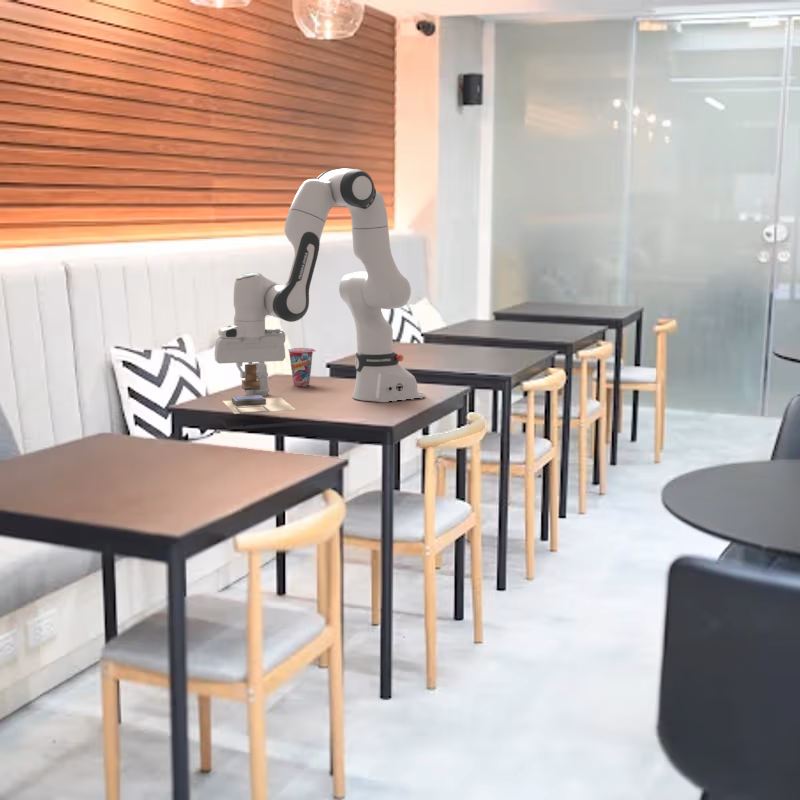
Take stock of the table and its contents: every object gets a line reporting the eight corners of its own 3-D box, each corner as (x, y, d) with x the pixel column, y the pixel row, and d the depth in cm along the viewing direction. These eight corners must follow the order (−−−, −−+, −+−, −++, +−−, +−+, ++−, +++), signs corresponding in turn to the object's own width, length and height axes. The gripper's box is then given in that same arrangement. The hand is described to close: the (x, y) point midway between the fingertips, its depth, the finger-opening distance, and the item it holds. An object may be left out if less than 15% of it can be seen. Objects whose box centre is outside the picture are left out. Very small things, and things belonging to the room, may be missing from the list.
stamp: (256, 387, 325) (256, 363, 323) (259, 389, 320) (259, 365, 319) (242, 387, 323) (241, 364, 322) (244, 390, 319) (244, 366, 318)
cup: (287, 387, 366) (286, 351, 364) (290, 383, 374) (289, 347, 372) (315, 387, 366) (314, 351, 363) (318, 383, 374) (317, 347, 372)
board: (280, 400, 343) (280, 391, 342) (296, 413, 323) (295, 403, 323) (222, 404, 337) (222, 395, 337) (234, 417, 317) (234, 407, 317)
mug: (272, 393, 355) (271, 356, 353) (261, 400, 344) (260, 361, 342) (249, 392, 356) (248, 355, 354) (237, 399, 345) (236, 361, 343)
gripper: (282, 327, 325) (283, 374, 328) (212, 329, 319) (214, 377, 321) (287, 329, 319) (288, 377, 322) (216, 332, 313) (217, 380, 315)
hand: (250, 377), depth 321 cm, fingers closed on stamp, 3 cm apart
